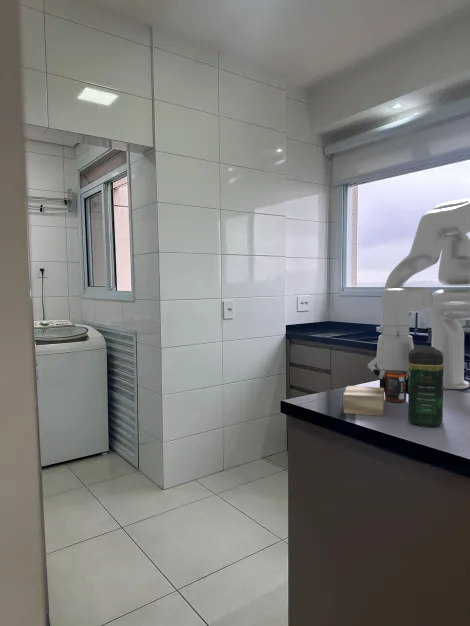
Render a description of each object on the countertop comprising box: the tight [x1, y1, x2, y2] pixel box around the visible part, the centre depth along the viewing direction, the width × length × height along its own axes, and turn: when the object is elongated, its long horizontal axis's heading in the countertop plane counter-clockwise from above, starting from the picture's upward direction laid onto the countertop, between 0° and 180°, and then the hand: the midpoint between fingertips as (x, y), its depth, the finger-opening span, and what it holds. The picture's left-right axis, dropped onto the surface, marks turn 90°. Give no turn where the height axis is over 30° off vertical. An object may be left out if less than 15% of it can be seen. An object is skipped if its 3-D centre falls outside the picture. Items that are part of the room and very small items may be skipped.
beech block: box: [343, 385, 385, 417], centre depth 115 cm, size 10×10×5 cm
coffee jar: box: [407, 345, 444, 428], centre depth 103 cm, size 10×8×19 cm
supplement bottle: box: [384, 371, 407, 403], centre depth 122 cm, size 6×6×11 cm
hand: (395, 391), depth 122 cm, fingers closed on supplement bottle, 6 cm apart
